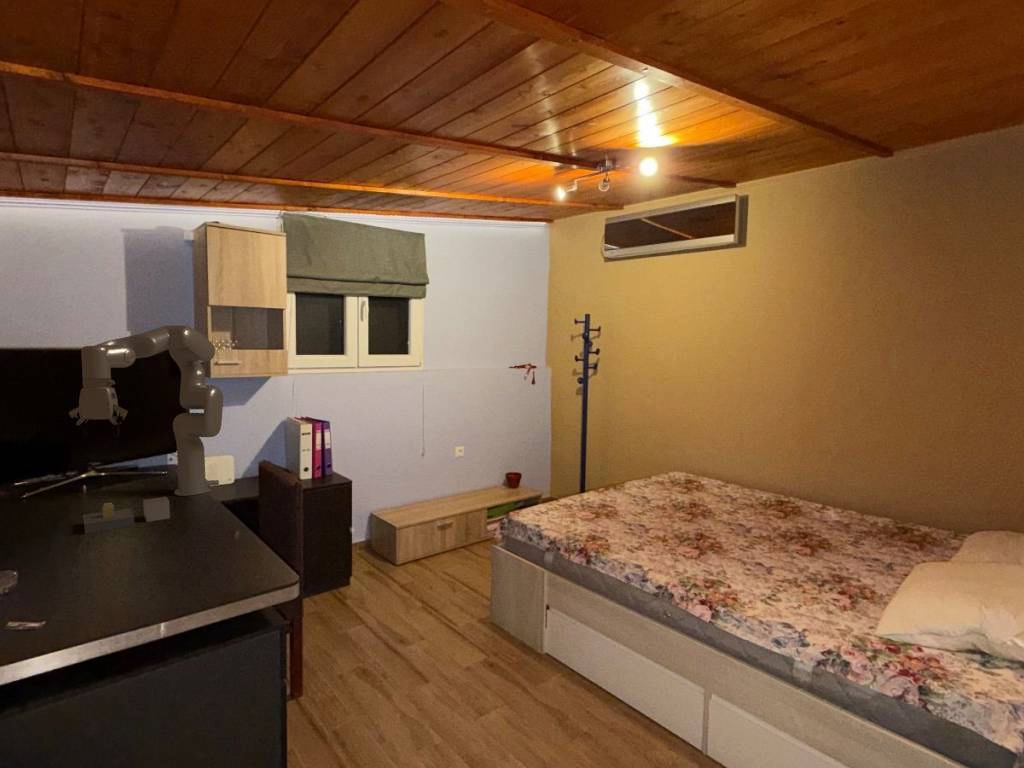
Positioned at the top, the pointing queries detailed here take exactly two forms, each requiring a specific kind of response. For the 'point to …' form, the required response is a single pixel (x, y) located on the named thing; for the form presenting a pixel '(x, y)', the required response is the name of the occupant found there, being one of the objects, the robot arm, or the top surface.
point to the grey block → (108, 519)
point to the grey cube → (156, 509)
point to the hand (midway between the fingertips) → (99, 436)
